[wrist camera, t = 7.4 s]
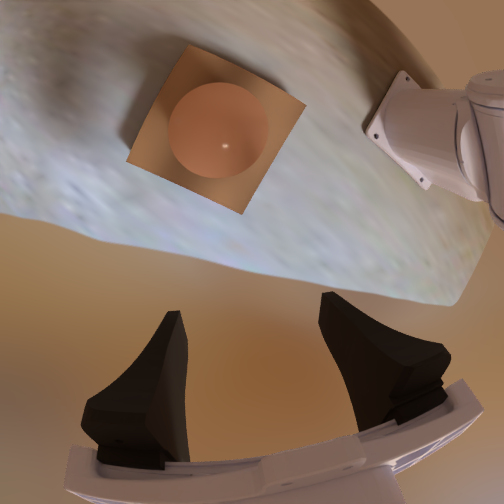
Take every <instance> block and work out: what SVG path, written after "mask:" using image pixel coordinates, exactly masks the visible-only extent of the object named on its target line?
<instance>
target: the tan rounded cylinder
mask: <svg viewBox="0 0 504 504" xmlns="http://www.w3.org/2000/svg"><path fill="white" fill-rule="evenodd" d="M168 138H169V143H170V146H171V149H172V151H173V153H174V155H175V157H176V158H177V160H178V161H179V162H180V163H181V164H182V165H183V166H184V167H185V168H187V169H188V170H190V171H191V172H193V173H195V174H197V175H200V176H203V177H207V178H226V177H231V176H234V175H237V174H239V173H241V172H243V171H245V170H246V169H248V168H249V167H250V166H251V165H253V164H254V163H255V162H256V161H257V159H258V158H259V157H260V155H261V154H262V152H263V150H264V148H265V145H266V142H267V139H268V119H267V116H266V113H265V111H264V108H263V107H262V105H261V103H260V102H259V101H258V99H257V98H256V97H255V96H254V95H253V94H252V93H250V92H249V91H247V90H246V89H244V88H242V87H240V86H237V85H234V84H230V83H222V82H218V83H209V84H205V85H202V86H199V87H197V88H195V89H193V90H192V91H190V92H189V93H187V94H186V95H185V96H184V97H183V98H182V99H181V100H180V101H179V102H178V104H177V105H176V106H175V108H174V110H173V112H172V114H171V117H170V120H169V125H168Z"/></svg>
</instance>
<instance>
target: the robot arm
mask: <svg viewBox="0 0 504 504" xmlns="http://www.w3.org/2000/svg"><path fill="white" fill-rule="evenodd" d="M406 78H407V81H406ZM374 134H376V138H374ZM366 136H367V137H368V138H369V139H370V140H372V141H373V142H374V143H375V144H376V145H377V146H379V147H380V148H381V149H382V150H383V151H384V152H385V153H387V154H388V155H389V156H390V157H391V158H392V159H393V160H394V161H395V162H396V163H397V164H398V165H400V166H401V167H402V168H403V169H404V170H405V171H406V172H407V173H408V174H409V175H410V176H411V177H412V178H413V179H414V180H415V181H416V182H417V183H418V184H419V185H420V186H421V187H422V188H423V189H425V190H427V189H428V188H429V187H430V185H431V183H433V184H435V185H437V186H440V187H442V188H444V189H447V190H449V191H451V192H453V193H456V194H458V195H460V196H462V197H464V198H466V199H468V200H471V201H485V202H487V203H489V211H490V215H491V217H492V219H493V220H494V222H495V223H496V224H497V225H498V226H499V227H500V228H501V229H502V230H503V231H504V70H493V71H488V72H483V73H479V74H477V75H474V76H473V77H471V79H470V80H469V83H468V84H467V85H466V87H465V90H457V89H421V87H420V86H419V85H418V84H417V83H416V82H415V81H414V80H413V79H412V78H411V77H410V76H409V75H408V74H407V73H406V72H405V71H403V70H402V71H399V72H398V74H397V75H396V77H395V79H394V81H393V83H392V85H391V86H390V88H389V90H388V92H387V94H386V95H385V97H384V99H383V101H382V103H381V104H380V106H379V108H378V110H377V111H376V113H375V115H374V117H373V118H372V120H371V122H370V124H369V125H368V127H367V129H366ZM420 178H421V181H420ZM318 324H319V327H320V329H321V332H322V335H323V338H324V340H325V342H326V344H327V346H328V348H329V350H330V352H331V354H332V356H333V358H334V360H335V362H336V364H337V366H338V368H339V370H340V372H341V374H342V376H343V379H344V382H345V384H346V387H347V390H348V393H349V396H350V399H351V403H352V406H353V410H354V413H355V417H356V421H357V425H358V430H359V433H357V434H353V435H348V436H343V437H339V438H336V439H332V440H328V441H325V442H321V443H317V444H313V445H309V446H306V447H301V448H297V449H291V450H286V451H282V452H278V453H274V454H271V455H267V456H261V457H254V458H245V459H236V460H226V461H210V462H190V456H189V448H188V440H187V430H186V416H185V386H186V375H187V363H188V340H187V336H186V332H185V329H184V325H183V321H182V317H181V314H180V311H168V312H167V313H166V315H165V317H164V319H163V320H162V322H161V324H160V325H159V327H158V329H157V330H156V332H155V334H154V335H153V337H152V338H151V340H150V341H149V343H148V344H147V346H146V347H145V348H144V350H143V351H142V353H141V354H140V355H139V356H138V358H137V359H136V360H135V361H134V362H133V364H132V365H131V366H130V367H129V368H128V369H127V370H126V371H125V372H124V373H123V374H122V375H121V376H120V377H119V378H117V379H116V380H115V381H114V382H113V383H111V384H110V385H109V386H108V387H106V388H105V389H104V390H102V391H101V392H99V393H98V394H96V395H95V396H93V397H91V398H90V399H88V400H87V403H86V406H85V409H84V413H83V417H82V421H81V427H82V429H83V430H84V432H85V433H86V434H87V435H88V436H89V437H90V438H91V439H93V440H94V441H95V442H96V443H97V444H98V445H99V446H98V451H97V450H95V449H93V448H89V447H83V446H78V445H74V444H72V445H71V446H70V452H69V456H68V462H67V468H66V475H65V481H64V489H65V490H67V491H69V492H71V493H73V494H75V495H77V496H79V497H81V498H84V499H85V500H88V501H90V502H92V503H95V504H406V502H405V499H404V497H403V495H402V492H401V490H400V487H399V485H398V483H397V480H396V478H395V476H394V475H395V474H397V473H399V472H401V471H403V470H405V469H406V468H408V467H410V466H412V465H414V464H415V463H417V462H419V461H421V460H422V459H424V458H425V457H427V456H428V455H430V454H432V453H433V452H435V451H436V450H438V449H440V448H441V447H443V446H444V445H446V444H447V443H449V442H450V441H452V440H453V439H455V438H456V437H457V436H459V435H460V434H462V433H463V432H464V431H465V430H466V429H467V428H468V427H469V426H470V425H471V424H472V423H473V422H474V421H475V420H476V419H477V418H478V417H479V416H480V415H481V414H482V413H483V412H484V408H483V407H482V405H481V404H480V402H479V401H478V399H477V398H476V396H475V395H474V394H473V392H472V391H471V390H470V388H469V387H468V385H467V384H466V382H465V381H464V380H463V379H460V380H458V381H457V382H455V383H453V384H451V385H450V386H449V387H447V388H446V389H445V390H444V389H443V388H442V385H443V381H442V380H441V377H442V375H443V374H444V372H445V370H446V369H447V367H448V366H449V364H450V361H451V354H450V353H449V352H448V351H447V349H446V348H445V347H444V346H443V344H440V343H436V342H430V341H425V340H422V339H418V338H415V337H412V336H409V335H406V334H403V333H401V332H398V331H396V330H394V329H391V328H389V327H387V326H385V325H383V324H381V323H379V322H378V321H376V320H374V319H373V318H371V317H369V316H368V315H366V314H365V313H363V312H362V311H360V310H359V309H357V308H356V307H354V306H353V305H351V304H350V303H349V302H347V301H346V300H344V299H343V298H342V297H340V296H339V295H338V294H336V293H335V292H333V291H332V292H326V293H322V297H321V306H320V313H319V321H318Z"/></svg>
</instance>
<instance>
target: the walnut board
mask: <svg viewBox="0 0 504 504" xmlns="http://www.w3.org/2000/svg"><path fill="white" fill-rule="evenodd" d="M218 82H222V83H230V84H234V85H237V86H240V87H242V88H244V89H246V90H247V91H249V92H250V93H252V94H253V95H254V96H255V97H256V98H257V99H258V101H259V102H260V103H261V105H262V107H263V108H264V111H265V113H266V116H267V119H268V139H267V142H266V145H265V148H264V150H263V152H262V154H261V155H260V157H259V158H258V159H257V161H256V162H255V163H254V164H253V165H251V166H250V167H249V168H248V169H246V170H245V171H243V172H241V173H239V174H237V175H234V176H231V177H226V178H207V177H203V176H200V175H197V174H195V173H193V172H191V171H190V170H188V169H187V168H185V167H184V166H183V165H182V164H181V163H180V162H179V161H178V160H177V158H176V157H175V155H174V153H173V151H172V149H171V146H170V143H169V138H168V125H169V120H170V117H171V114H172V112H173V110H174V108H175V106H176V105H177V104H178V102H179V101H180V100H181V99H182V98H183V97H184V96H185V95H186V94H187V93H189V92H190V91H192V90H193V89H195V88H197V87H199V86H202V85H205V84H209V83H218ZM306 106H307V105H305V104H304V103H302V102H301V101H299V100H297V99H296V98H294V97H293V96H291V95H289V94H288V93H286V92H284V91H283V90H281V89H279V88H278V87H276V86H274V85H272V84H271V83H269V82H267V81H265V80H264V79H262V78H260V77H258V76H256V75H254V74H252V73H251V72H249V71H247V70H245V69H243V68H241V67H239V66H237V65H235V64H233V63H231V62H229V61H226V60H224V59H222V58H220V57H218V56H216V55H213V54H211V53H209V52H207V51H204V50H202V49H199V48H197V47H195V46H192V45H190V44H189V45H188V46H187V48H186V49H185V51H184V52H183V54H182V55H181V57H180V58H179V60H178V62H177V63H176V65H175V66H174V68H173V70H172V71H171V73H170V75H169V76H168V78H167V80H166V81H165V83H164V85H163V87H162V88H161V90H160V92H159V94H158V96H157V98H156V99H155V101H154V103H153V105H152V107H151V109H150V111H149V113H148V115H147V117H146V119H145V121H144V123H143V125H142V127H141V129H140V131H139V133H138V136H137V138H136V140H135V142H134V144H133V147H132V149H131V151H130V154H129V156H128V158H127V161H126V162H128V163H131V164H133V165H135V166H138V167H140V168H142V169H144V170H147V171H149V172H151V173H153V174H156V175H158V176H160V177H162V178H164V179H167V180H169V181H171V182H173V183H175V184H178V185H180V186H182V187H184V188H186V189H189V190H191V191H193V192H195V193H197V194H199V195H201V196H204V197H206V198H208V199H210V200H212V201H214V202H216V203H218V204H221V205H223V206H225V207H227V208H229V209H231V210H233V211H235V212H237V213H239V214H241V215H242V214H243V212H244V210H245V209H246V207H247V205H248V203H249V202H250V200H251V198H252V196H253V195H254V193H255V191H256V189H257V188H258V186H259V184H260V183H261V181H262V179H263V177H264V176H265V174H266V172H267V171H268V169H269V167H270V165H271V164H272V162H273V160H274V159H275V157H276V155H277V154H278V152H279V150H280V148H281V147H282V145H283V143H284V142H285V140H286V138H287V137H288V135H289V133H290V132H291V130H292V128H293V127H294V125H295V124H296V122H297V120H298V119H299V117H300V115H301V114H302V112H303V110H304V109H305V107H306Z"/></svg>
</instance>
